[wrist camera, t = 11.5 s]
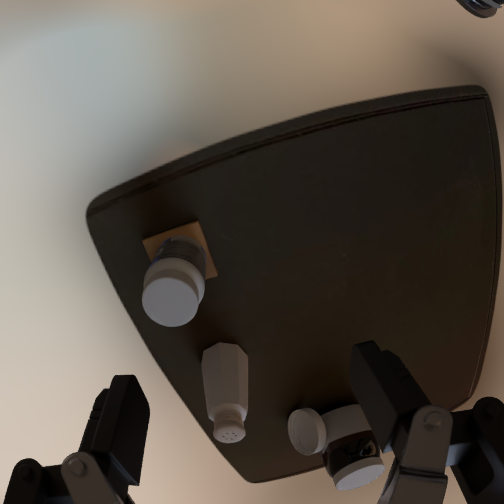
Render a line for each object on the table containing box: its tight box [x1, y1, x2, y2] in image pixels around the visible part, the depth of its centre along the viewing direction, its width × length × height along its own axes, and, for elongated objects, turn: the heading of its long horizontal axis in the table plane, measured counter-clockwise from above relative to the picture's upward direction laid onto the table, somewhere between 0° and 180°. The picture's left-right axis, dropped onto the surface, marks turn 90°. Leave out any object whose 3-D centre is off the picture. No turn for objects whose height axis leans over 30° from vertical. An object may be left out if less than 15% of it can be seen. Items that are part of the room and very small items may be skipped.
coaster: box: [142, 220, 218, 280], centre depth 28 cm, size 6×6×1 cm
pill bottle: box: [142, 235, 207, 327], centre depth 24 cm, size 5×5×8 cm
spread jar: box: [288, 403, 385, 490], centre depth 34 cm, size 12×11×12 cm
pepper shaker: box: [201, 342, 248, 443], centre depth 28 cm, size 5×5×11 cm
